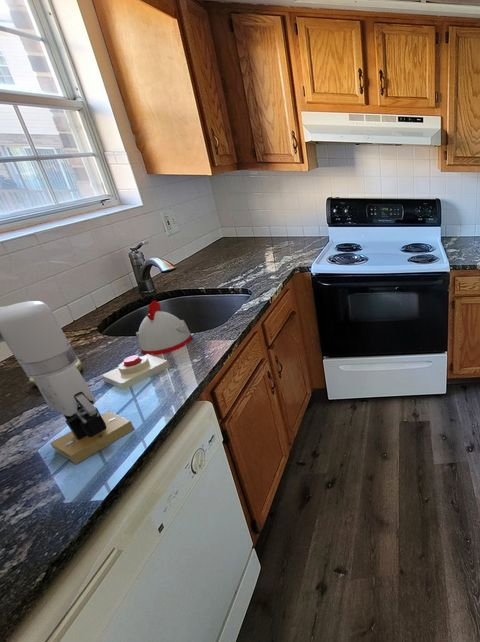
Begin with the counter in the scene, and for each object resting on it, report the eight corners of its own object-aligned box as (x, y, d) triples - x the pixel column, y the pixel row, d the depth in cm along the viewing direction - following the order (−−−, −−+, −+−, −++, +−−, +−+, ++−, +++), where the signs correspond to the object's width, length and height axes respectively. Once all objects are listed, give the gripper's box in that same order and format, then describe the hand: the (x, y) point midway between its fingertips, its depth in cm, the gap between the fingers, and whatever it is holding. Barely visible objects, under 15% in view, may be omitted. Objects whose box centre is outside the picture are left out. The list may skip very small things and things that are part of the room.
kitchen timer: (197, 331, 129) (183, 292, 123) (184, 350, 117) (168, 308, 111) (151, 337, 125) (134, 298, 119) (133, 358, 114) (113, 316, 107)
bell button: (129, 368, 102) (127, 363, 102) (122, 365, 104) (120, 360, 103) (143, 361, 105) (141, 356, 105) (136, 359, 107) (134, 354, 106)
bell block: (124, 390, 99) (118, 378, 98) (104, 381, 103) (98, 370, 101) (170, 366, 109) (165, 355, 107) (150, 359, 113) (145, 348, 111)
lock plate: (76, 464, 77) (70, 455, 75) (54, 451, 80) (48, 442, 79) (135, 429, 86) (130, 420, 84) (113, 418, 89) (108, 410, 88)
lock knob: (79, 440, 79) (67, 421, 77) (75, 438, 80) (64, 419, 78) (106, 424, 84) (96, 407, 81) (102, 423, 84) (92, 405, 82)
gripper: (4, 361, 74) (48, 428, 82) (45, 381, 67) (89, 452, 75) (53, 343, 80) (89, 407, 88) (95, 360, 73) (130, 427, 81)
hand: (89, 427), depth 81 cm, fingers open, 6 cm apart
